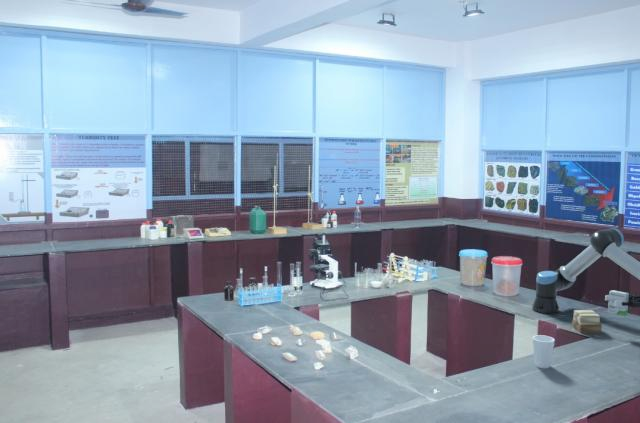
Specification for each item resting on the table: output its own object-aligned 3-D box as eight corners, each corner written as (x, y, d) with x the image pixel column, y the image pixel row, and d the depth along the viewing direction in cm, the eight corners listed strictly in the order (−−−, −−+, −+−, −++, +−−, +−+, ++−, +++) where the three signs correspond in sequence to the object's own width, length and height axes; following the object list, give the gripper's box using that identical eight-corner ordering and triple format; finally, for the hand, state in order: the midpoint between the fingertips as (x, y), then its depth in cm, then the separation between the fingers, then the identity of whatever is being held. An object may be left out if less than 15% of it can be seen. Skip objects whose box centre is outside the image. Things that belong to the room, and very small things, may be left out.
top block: (573, 318, 315) (573, 310, 314) (591, 319, 314) (592, 310, 313) (580, 324, 305) (580, 315, 304) (599, 324, 304) (599, 315, 303)
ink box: (628, 314, 299) (629, 292, 297) (624, 316, 295) (626, 294, 294) (610, 310, 305) (612, 289, 303) (607, 312, 302) (608, 291, 300)
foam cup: (534, 369, 258) (535, 341, 256) (529, 361, 267) (530, 334, 265) (555, 370, 256) (557, 342, 255) (550, 362, 265) (551, 335, 264)
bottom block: (571, 327, 316) (572, 318, 315) (591, 327, 315) (592, 318, 315) (580, 333, 305) (580, 324, 304) (601, 333, 304) (601, 324, 304)
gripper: (664, 314, 289) (620, 313, 289) (640, 301, 310) (599, 301, 310) (665, 299, 288) (621, 299, 288) (641, 288, 309) (600, 288, 309)
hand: (610, 300), depth 299 cm, fingers closed on ink box, 9 cm apart
